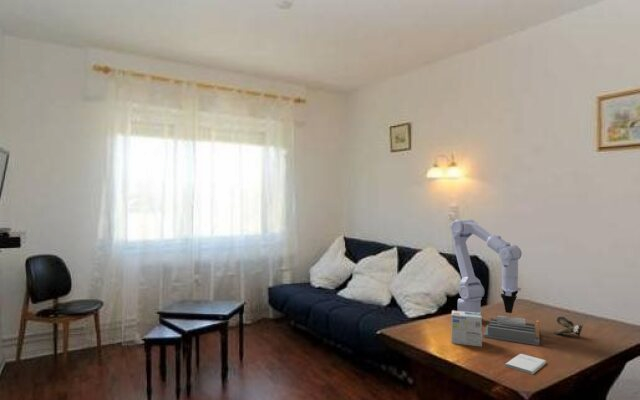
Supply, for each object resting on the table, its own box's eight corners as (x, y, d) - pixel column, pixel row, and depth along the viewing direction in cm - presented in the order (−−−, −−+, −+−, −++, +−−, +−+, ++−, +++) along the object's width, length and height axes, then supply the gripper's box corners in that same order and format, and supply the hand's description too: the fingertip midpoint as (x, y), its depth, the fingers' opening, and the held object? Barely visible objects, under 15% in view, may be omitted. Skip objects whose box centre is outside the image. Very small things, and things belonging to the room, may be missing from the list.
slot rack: (483, 337, 156) (483, 318, 156) (487, 326, 169) (487, 310, 169) (539, 345, 147) (539, 326, 147) (538, 334, 160) (539, 316, 160)
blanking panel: (496, 331, 160) (496, 316, 160) (497, 330, 161) (497, 315, 161) (525, 335, 155) (525, 319, 155) (525, 334, 157) (525, 318, 157)
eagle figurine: (581, 331, 161) (556, 322, 166) (584, 319, 157) (558, 310, 162) (578, 345, 156) (551, 336, 161) (580, 333, 152) (553, 324, 158)
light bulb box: (481, 341, 152) (481, 312, 152) (482, 347, 146) (482, 317, 146) (451, 337, 156) (451, 309, 156) (451, 343, 149) (451, 314, 149)
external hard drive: (504, 368, 129) (519, 357, 138) (532, 376, 123) (546, 364, 132) (505, 363, 129) (519, 352, 138) (532, 371, 123) (546, 359, 132)
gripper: (520, 280, 153) (519, 316, 153) (521, 274, 166) (521, 307, 166) (499, 278, 156) (499, 313, 157) (502, 272, 169) (502, 304, 169)
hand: (509, 310), depth 162 cm, fingers open, 7 cm apart
